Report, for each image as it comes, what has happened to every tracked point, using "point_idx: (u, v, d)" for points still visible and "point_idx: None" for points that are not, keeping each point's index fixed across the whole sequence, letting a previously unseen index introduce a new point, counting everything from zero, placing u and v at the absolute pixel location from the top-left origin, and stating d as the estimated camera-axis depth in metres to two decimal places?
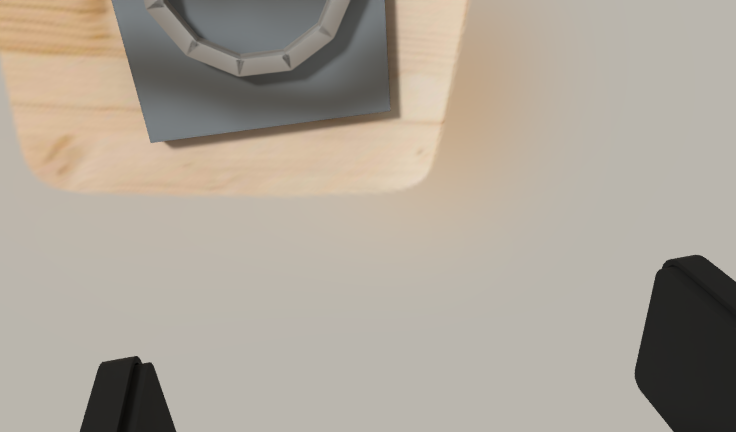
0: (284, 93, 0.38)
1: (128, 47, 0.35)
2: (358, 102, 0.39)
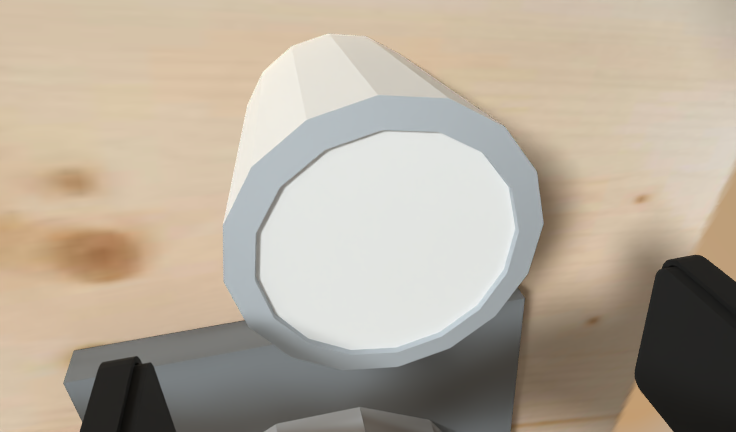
0: None
1: None
2: None
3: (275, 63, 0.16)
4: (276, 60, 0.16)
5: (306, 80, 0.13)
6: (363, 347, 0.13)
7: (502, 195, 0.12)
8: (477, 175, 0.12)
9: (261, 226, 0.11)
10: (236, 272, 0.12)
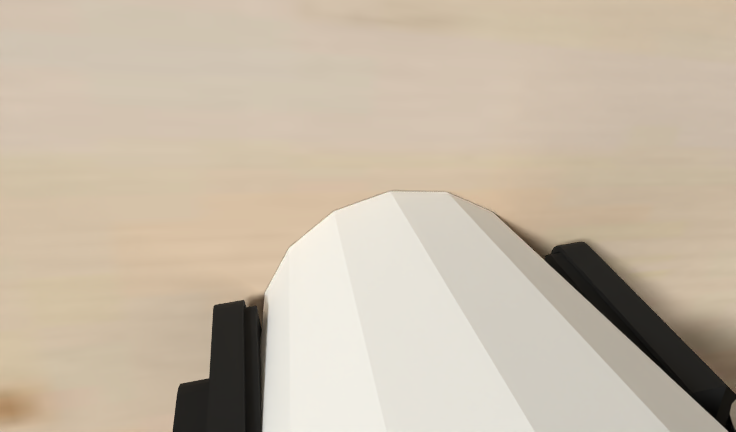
0: None
1: None
2: None
3: (309, 242, 0.10)
4: (310, 233, 0.11)
5: (382, 353, 0.07)
6: None
7: None
8: None
9: None
10: None
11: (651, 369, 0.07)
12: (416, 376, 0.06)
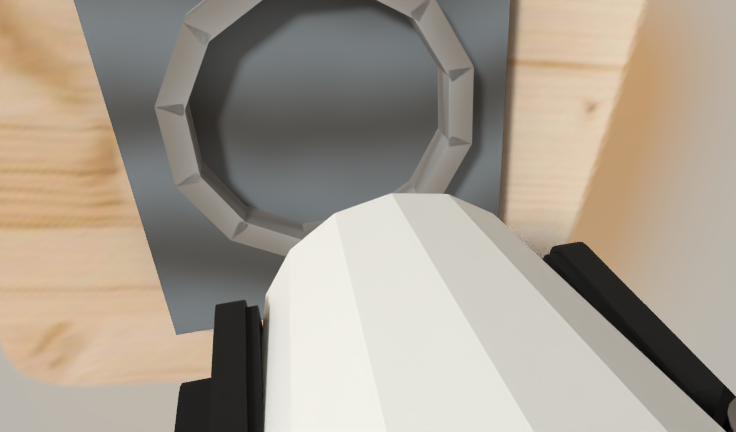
0: None
1: (147, 224, 0.25)
2: None
3: (310, 244, 0.10)
4: (311, 234, 0.11)
5: (383, 355, 0.07)
6: None
7: None
8: None
9: None
10: None
11: (652, 372, 0.07)
12: (417, 379, 0.06)
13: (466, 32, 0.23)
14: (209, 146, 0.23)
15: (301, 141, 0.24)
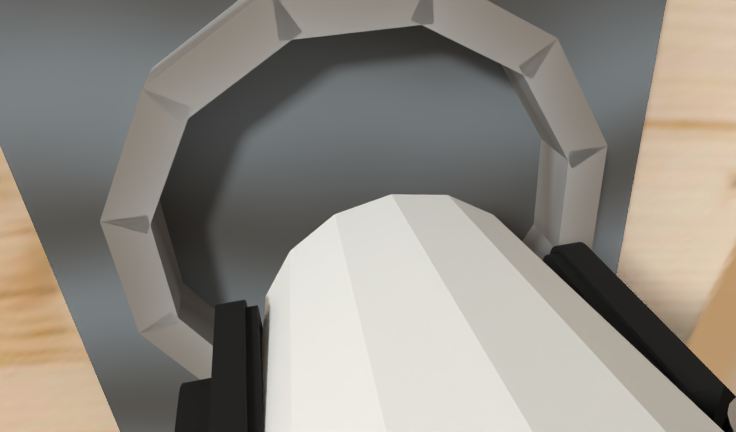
0: None
1: (102, 371, 0.17)
2: None
3: (310, 245, 0.10)
4: (311, 236, 0.11)
5: (383, 357, 0.07)
6: None
7: None
8: None
9: None
10: None
11: (652, 374, 0.07)
12: (417, 381, 0.06)
13: (588, 88, 0.15)
14: (193, 262, 0.15)
15: None
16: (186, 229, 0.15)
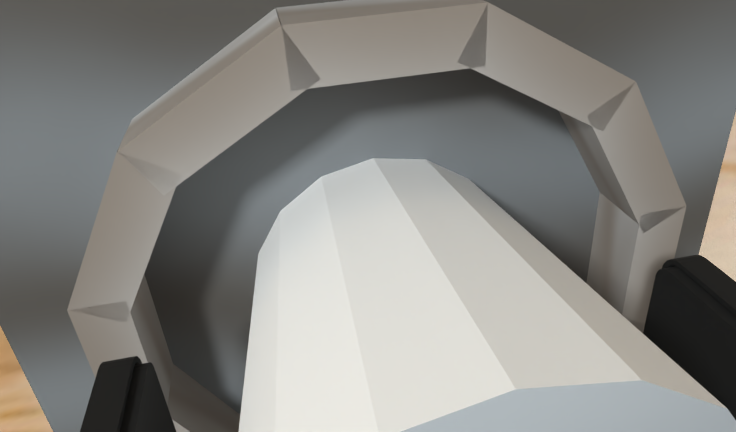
0: None
1: None
2: None
3: (298, 204, 0.11)
4: (299, 196, 0.12)
5: (358, 284, 0.08)
6: None
7: None
8: None
9: None
10: None
11: (595, 299, 0.08)
12: (386, 299, 0.07)
13: (658, 134, 0.13)
14: (185, 341, 0.13)
15: None
16: (176, 305, 0.12)
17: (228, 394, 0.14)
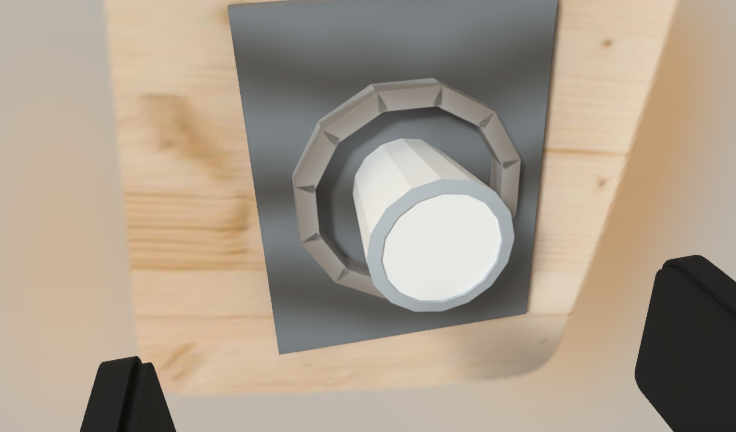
0: None
1: (270, 269, 0.33)
2: (495, 307, 0.37)
3: (373, 154, 0.30)
4: (373, 152, 0.30)
5: (401, 168, 0.27)
6: (426, 299, 0.27)
7: (494, 223, 0.26)
8: (483, 213, 0.25)
9: (386, 235, 0.25)
10: (372, 256, 0.25)
11: (471, 174, 0.27)
12: (410, 169, 0.26)
13: (513, 132, 0.32)
14: (322, 212, 0.32)
15: None
16: (321, 195, 0.31)
17: (335, 240, 0.32)
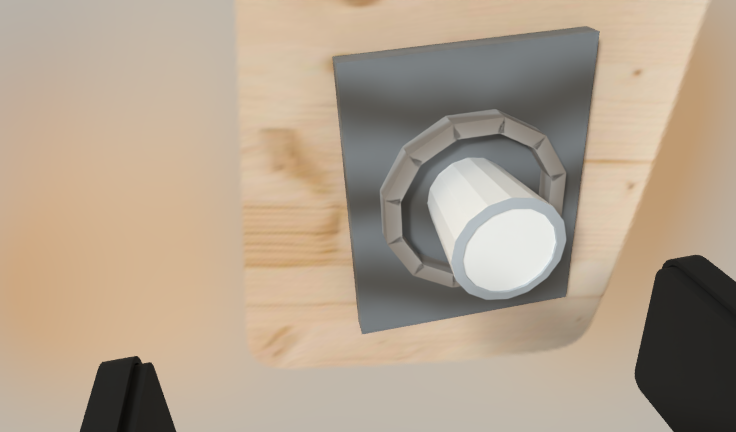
0: None
1: (358, 265, 0.40)
2: (540, 292, 0.44)
3: (446, 171, 0.37)
4: (445, 169, 0.37)
5: (475, 186, 0.33)
6: (495, 289, 0.34)
7: (551, 230, 0.33)
8: (542, 223, 0.32)
9: (467, 241, 0.32)
10: (456, 258, 0.32)
11: (530, 190, 0.34)
12: (483, 188, 0.33)
13: (559, 149, 0.38)
14: (402, 218, 0.39)
15: None
16: (402, 205, 0.38)
17: (412, 240, 0.39)
